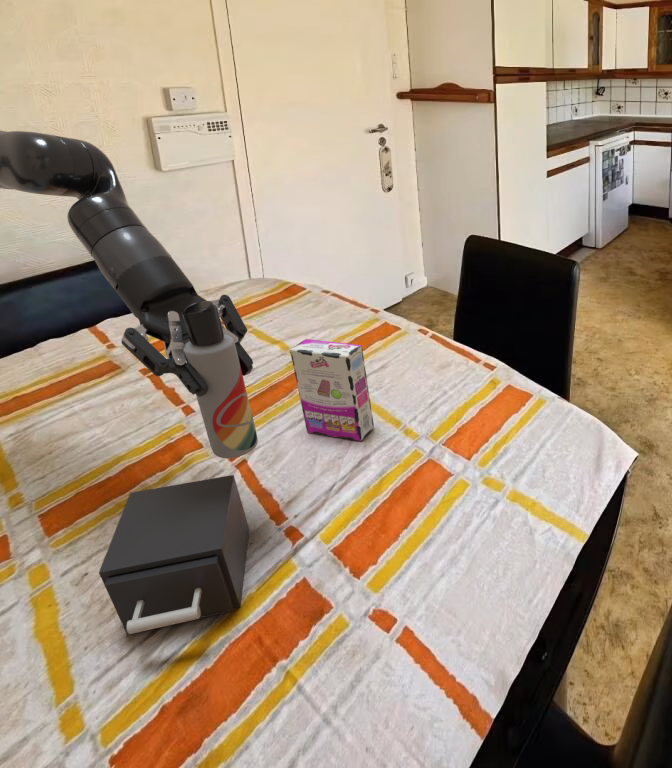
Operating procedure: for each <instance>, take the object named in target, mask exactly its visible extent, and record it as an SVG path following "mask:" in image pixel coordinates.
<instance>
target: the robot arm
mask: <svg viewBox="0 0 672 768" xmlns="http://www.w3.org/2000/svg"><path fill="white" fill-rule="evenodd" d="M0 189H4V190H12V191H13V190H15V191H18V192H22V193H29V194H35V195H42V196H43V195H44V196H56V197H67V198H68V197H69V198H76V199H77V201H76V202H75V203H73V204H72V205H71V207H70V208H69V209H68V212H67V224H68V226H69V227H70V229H71V230H72V232H73V234H74V235H75V237H76V238H78V240H79V242H80V243H81V245H83V247H84V248H85V249H86V251H87V252H88V253H89V255H90V256H91V257H92V259H93V261H94V262H95V264H96V266H97V267H98V269H99V271H100V272H101V274H102V276H104V278H105V280H106V281H107V283H109V285H110V286H111V287H112V289H113V290H114V291H115V292H116V294H117V295H118V296H119V297H120V299H121V301H123V303H124V305H126V307H127V308H128V309H129V311H130V312H131V314H132V315H133V316H134V317H135V318H136V319H138V321H139V325H138V326H136V327H127V328H125V330H124V332H123V335H122V337H121V338H122V339H121V341H120V342H121V345H122V346H123V347H124V348H125V349H126V350H128V351H129V352H130V353H131V354H132V355H133V356H134V357H135V358H136V359H137V360H138V361H139V362H140V363H141V364H142V365H143V366H144V367H146V369H148V371H150V372H151V373H152V374H153V375H154V376H156V377H161V376H163V375H165V374H172V375H175V376H176V377H177V378H178V379H179V380H180V382H181V383H182V384H183V386H184V387H185V388H186V390H187V391H188V393H190V394H192V395H195V396H196V395H197V396H198V397H201V396H203V395H205V394H206V393H207V391H208V386H207V384H206V383H205V381H204V380H203V379H202V378H201V376H200V375H199V374H198V372H197V371H196V370H195V368H194V367H193V366H192V365H191V364H190V363H189V364H187V362H186V358H185V353H184V345H185V344H186V343H187V342H188V341H190V339H189V336H188V332H187V329H186V325H185V322H184V318H183V315H182V311H183V309H184V308H185V307H187V306H188V305H190V304H192V303H196V302H202V301H208V300H207V299H206V298H203V297H202V296H200V295H199V294H198V293H197V290H196V288H195V286H194V285H193V283H192V282H191V281H190V280H189V278H188V277H187V276H186V274H185V272H184V271H183V270H182V269H181V268H180V266H179V265H178V263H177V262H176V261H175V259H174V258H173V257H172V255H171V254H170V253H169V252H168V251H167V249H166V248H165V246H164V245H163V244H162V243H161V242H160V240H158V238H156V237H155V236H154V234H152V233H151V232H150V230H149V229H148V228H147V227H146V225H145V224H144V222H143V221H142V220H141V219H140V218H139V216H138V215H137V213H136V212H135V211H134V209H132V207H131V206H130V204H129V202H128V199H127V196H126V194H125V191H124V189H123V186H122V185H121V181H120V179H119V176H118V174H117V172H116V169H115V167H114V165H113V163H112V161H111V160H110V158H109V157H108V155H106V154H105V152H103V151H102V150H101V149H100V148H98V146H96V145H94V144H93V143H91V142H89V141H86V140H83V139H78V138H73V137H65V136H59V135H55V134H48V133H42V132H36V131H26V130H12V131H11V130H10V131H6V130H0ZM210 301H211V302H212V303H213V304H214V305H216V306H217V309H218V313H219V317H220V321H221V322H222V323H221V325H222V329H223V334H225V335H229V336H231V337H232V338H233V340H234V343H235V346H236V350H237V354H238V358H239V363H240V367H241V371H242V375H243V377H244V376H247V375H249V374H250V373H251V372H252V371H253V369H254V366H253V365H254V361H253V358H252V357H251V356H250V354H249V353H248V352H247V350H246V349H245V348H244V347H243V346H242V343H241V342H242V341H243V339H244V337H245V336H246V334H247V333H248V329H247V327H246V324H245V323H244V321H243V319H242V317H241V315H240V313H239V312H238V310H237V307H236V306H235V304H234V302H233V301H232V299H231V297H230V296H229V295H228V294H221V296H220V297H219V298H218V299H214V300H210ZM148 336H149V337H152V338H154V339H156V340H159V341H161V342H162V343H163V348H164V353H165V356H164V355H163V354H162V353H161V352H160V351H159V350H158V349H157V348H156V347H155V346H154V345H153V344H151V343H150V342H149V337H148Z"/></svg>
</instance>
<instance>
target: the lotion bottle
mask: <svg viewBox="0 0 672 768" xmlns="http://www.w3.org/2000/svg"><path fill="white" fill-rule="evenodd" d="M211 301H212V300H207V301H202V302H196V303H192V304H190V305H188V306H187V307H185V308H184V309H183V311H182V315H183V318H184V322H185V325H186V329H187V332H188V336H189V339H190V341H188V342H187V343H186V344H185V345H184V353H185V358H186V363H187V364H189V363H190V364H191V365H192V366H193V367H194V368H195V370H196V371H197V372H198V374H199V375H200V376H201V378H202V379H203V380H204V381H205V383H206V384H207V386H208V391H207V393H206V394H205V395H203V396H201V397H198V396H197V395H196V394H195V396H196V400H197V403H198V407H199V410H200V414H201V417H202V420H203V424H204V427H205V431H206V435H207V438H208V441H209V446H210V448H211V451H212V453H213V454H214V456H216V457H217V458H220V459H234V458H239V457H242V456H245V455H247V454H249V453H251V452H252V451H253V450H255V448H256V447H257V445H258V443H259V440H258V434H257V430H256V425H255V420H254V416H253V413H252V408H251V405H250V400H249V396H248V392H247V388H246V384H245V379H244V376H243V375H242V371H241V367H240V363H239V358H238V354H237V350H236V346H235V343H234V340H233V338H232V337H231V336H229V335H225V334H223V329H222V325H221V324H222V320H221V318H220V317H219V313H218V309H217V306H216V305H214V304H213V303H212V302H211Z"/></svg>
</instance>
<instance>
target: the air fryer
mask: <svg viewBox="0 0 672 768" xmlns="http://www.w3.org/2000/svg"><path fill="white" fill-rule="evenodd" d="M238 488H239V487H238V484H237V481H236V478H235V475H234V474H231V475H225V476H219V477H213V478H208V479H207V478H206V479H201V480H196V481H190V482H183V483H179V484H172V485H167V486H161V487H155V488H150V489H143V490H138V491H137V490H136V491H133V492H132V491H131V492H129V495H128V497H127V500H126V503H125V505H124V508H123V510H122V513H121V515H120V518H119V521H118V522H117V526H116V528H115V531H114V533H113V536H112V538H111V540H110V543H109V546H108V548H107V551H106V554H105V556H104V558H103V561H102V563H101V565H100V568H99V571H98V574H99V576H100V579H101V581H102V583H103V585H104V586H105V583H106V580H107V578H108V577H113V576H118V575H121V574H123V573H128V572H133V571H138V570H143V569H148V568H153V567H158V566H163V565H168V564H173V563H178V562H183V561H188V560H193V559H198V558H203V557H208V556H213V555H216V556H218V558H219V561H220V564H221V567H222V570H223V573H224V576H225V580H226V583H227V586H228V589H229V592H230V595H231V598H232V601H233V610H234V609H239V608H241V605H242V596H243V589H244V579H245V572H246V571H245V570H246V562H247V554H248V545H249V537H250V527H249V522H248V519H247V515H246V512H245V510H244V509H245V508H244V506H243V502H242V498H241V495H240V492H239V489H238ZM105 589H106V588H105ZM106 591H107V589H106ZM116 614H117V615H118V613H117V612H116ZM122 627H123V628H124V626H123V625H122Z"/></svg>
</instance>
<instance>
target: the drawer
mask: <svg viewBox="0 0 672 768" xmlns="http://www.w3.org/2000/svg"><path fill="white" fill-rule="evenodd" d="M104 588H105V589H107V590H106V591H107V594H108V596H109V598H110V600H111V602H112V603H111V604H112V605H113V607H114V609H115V611H116V614H117V613H118V614H117V615H118V618H119V621H120V622H121V624H122V627H123V626H124V627H123V629H124V631H125V633H126V635H131V634H136V633H140V632H141V633H142V632H145V631H149V630H154V629H159V628H163V627H168V626H172V625H177V624H181V623H186V622H190V621H195V620H199V619H201V618H207V617H211V616H216V615H220V614H224V613H229V612H232V611H233V610H234V609H233V601H232V598H231V595H230V592H229V589H228V586H227V583H226V580H225V576H224V573H223V570H222V567H221V564H220V561H219V558H218V556H216V555H213V556H208V557H203V558H198V559H193V560H188V561H183V562H178V563H173V564H168V565H163V566H158V567H153V568H148V569H143V570H138V571H133V572H128V573H123V574H121V575H118V576H113V577H108V578H107V580H106V583H105V585H104Z"/></svg>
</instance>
